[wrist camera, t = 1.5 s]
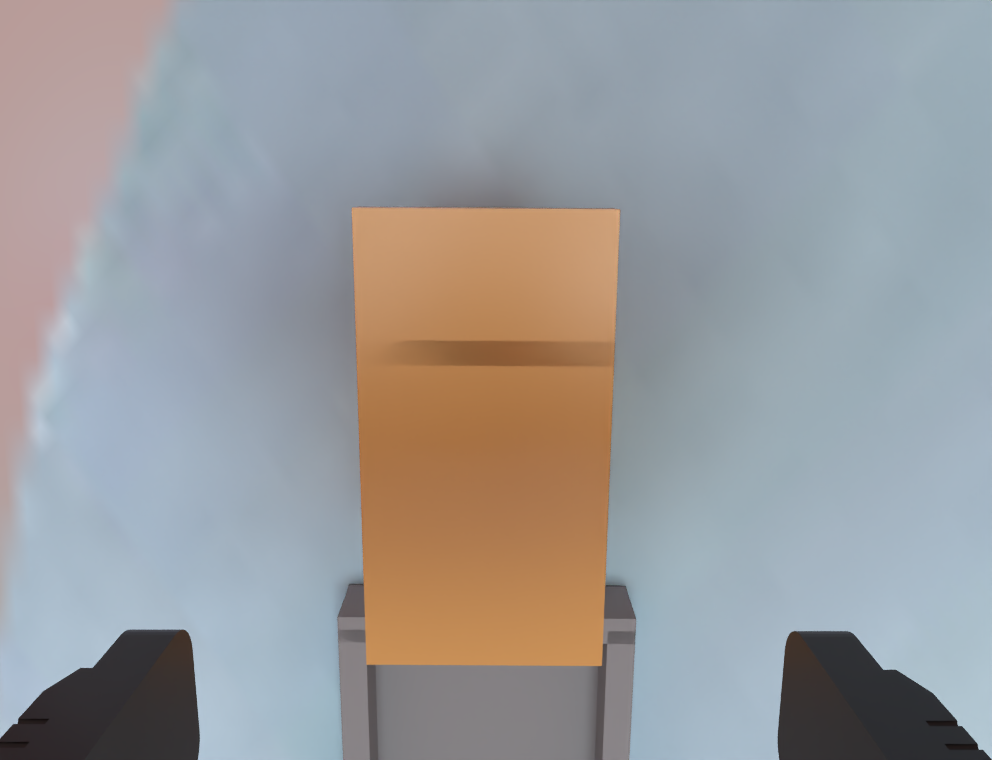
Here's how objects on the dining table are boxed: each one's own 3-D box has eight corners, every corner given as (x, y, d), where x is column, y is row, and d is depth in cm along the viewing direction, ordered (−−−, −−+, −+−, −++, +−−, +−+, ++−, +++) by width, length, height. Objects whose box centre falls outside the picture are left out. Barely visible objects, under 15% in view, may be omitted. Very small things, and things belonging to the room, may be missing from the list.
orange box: (400, 200, 23) (351, 207, 15) (578, 201, 23) (620, 209, 15) (406, 518, 25) (366, 664, 18) (569, 519, 25) (601, 665, 18)
